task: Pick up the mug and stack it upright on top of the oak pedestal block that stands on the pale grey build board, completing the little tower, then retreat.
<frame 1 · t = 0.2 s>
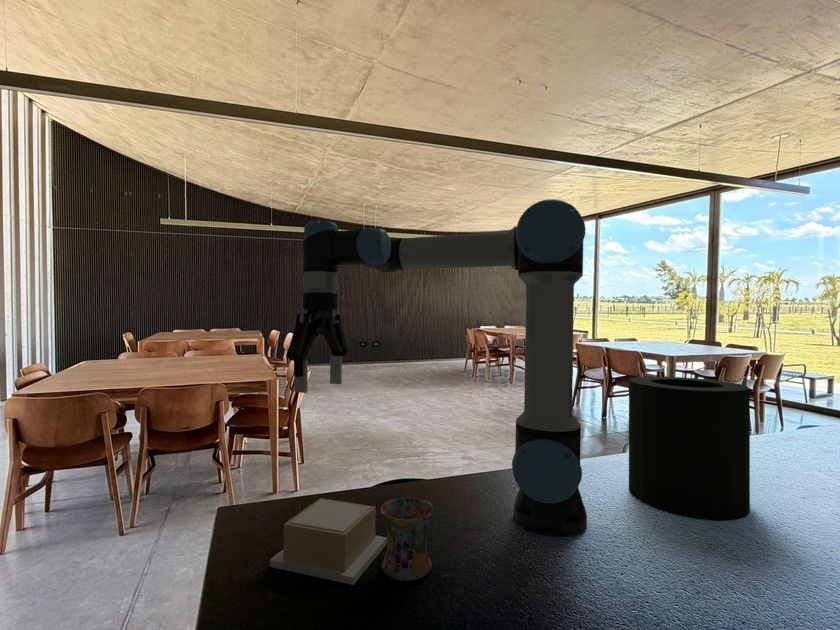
hand: (319, 387, 98), 28 cm above the table, fingers open, 13 cm apart
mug: (405, 567, 77), on the table
flower pot: (685, 498, 108), on the table
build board: (331, 554, 81), on the table
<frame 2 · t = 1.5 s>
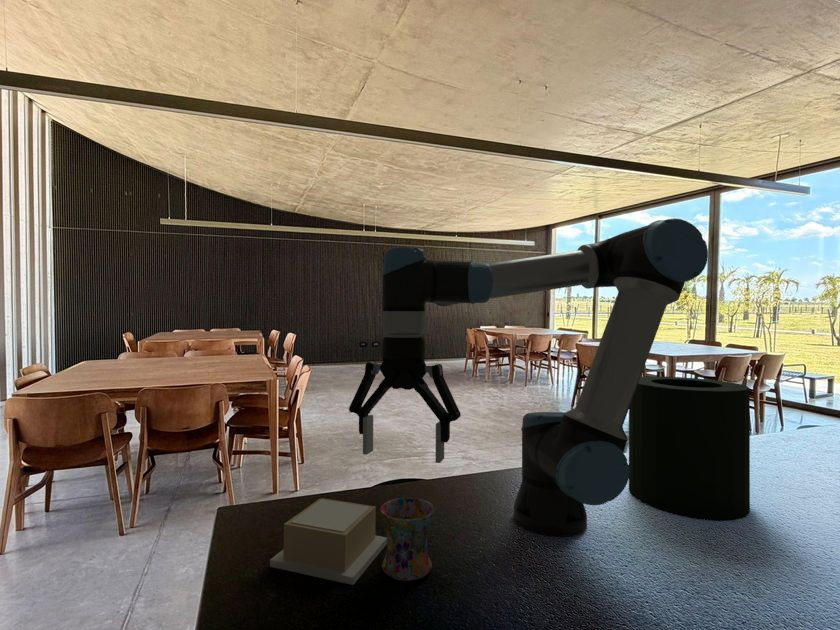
hand: (402, 456, 78), 19 cm above the table, fingers open, 13 cm apart
nothing on the table moved.
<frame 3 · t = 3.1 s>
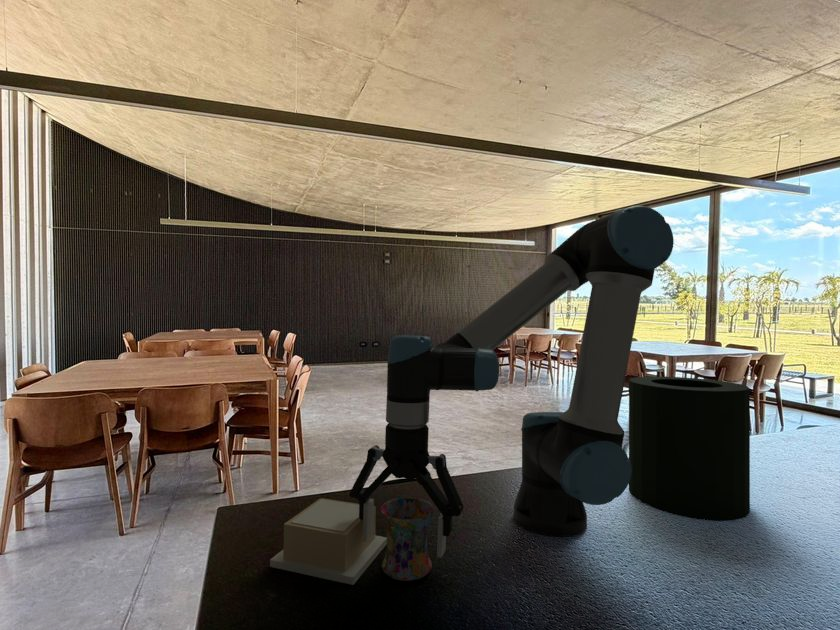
hand: (403, 546, 77), 3 cm above the table, fingers open, 13 cm apart
nothing on the table moved.
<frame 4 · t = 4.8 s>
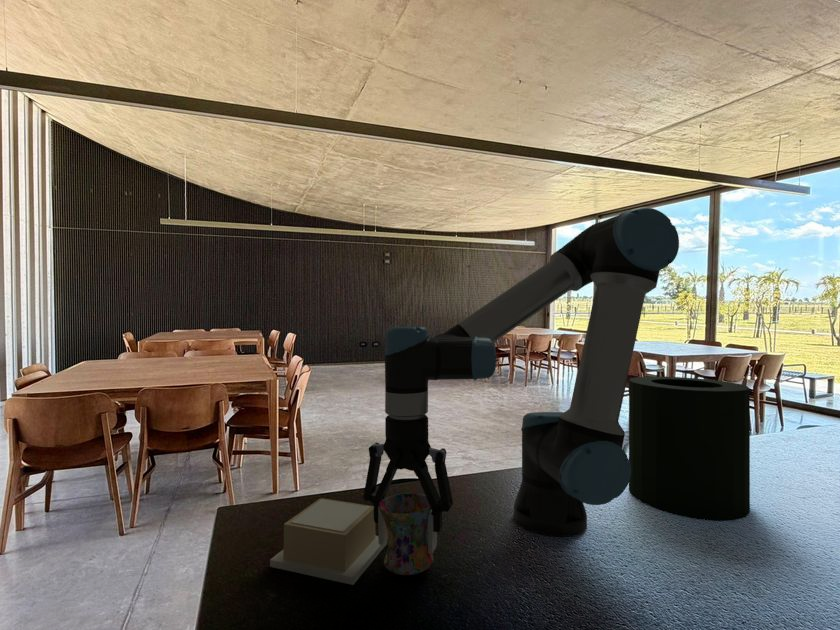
hand: (407, 544, 77), 4 cm above the table, fingers closed on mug, 8 cm apart
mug: (407, 562, 77), point 1 cm above the table, touching gripper
everything else where it was.
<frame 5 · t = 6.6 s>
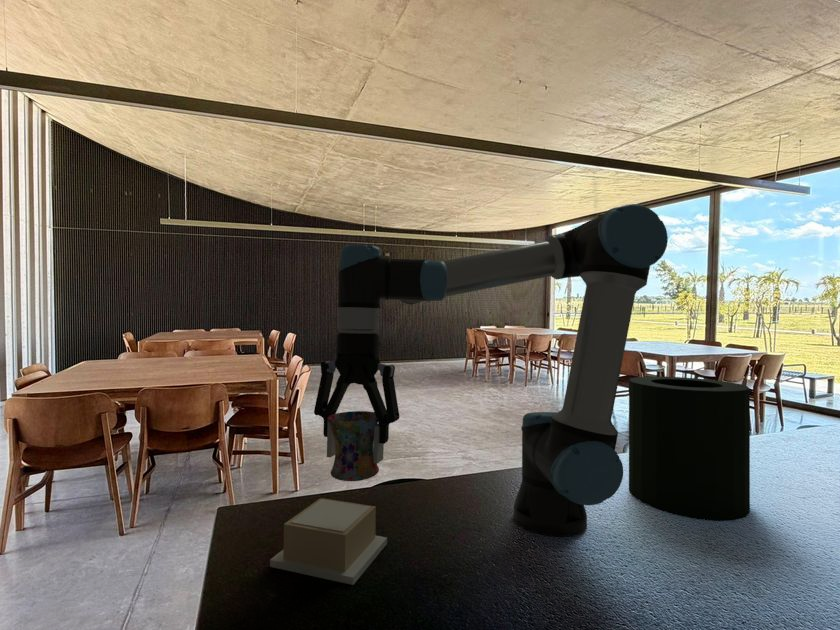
hand: (354, 457, 80), 18 cm above the table, fingers closed on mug, 8 cm apart
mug: (354, 475, 80), point 15 cm above the table, touching gripper
everything else where it was.
when the fingers open (9 cm above the table, at t = 8.9 s): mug stays where it is, resting on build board.
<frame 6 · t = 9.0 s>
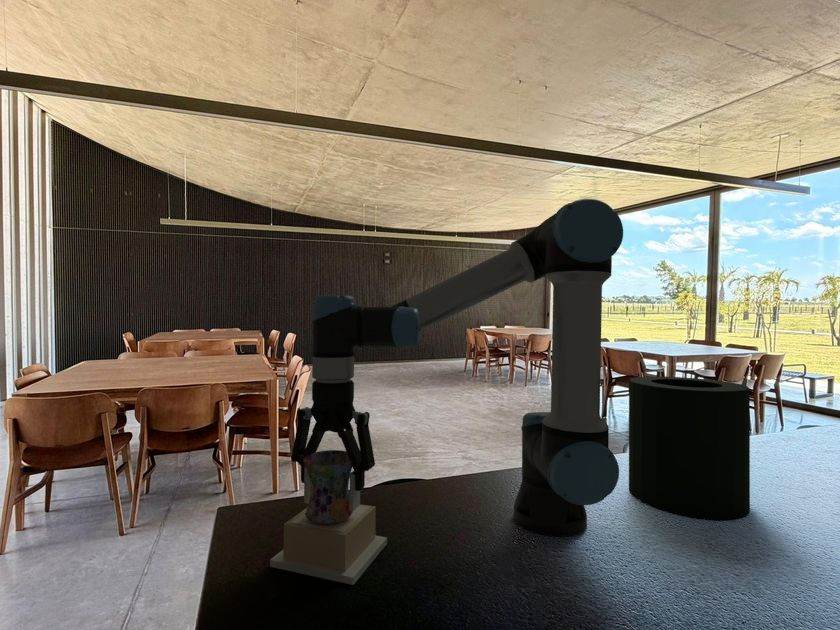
hand: (331, 504, 81), 9 cm above the table, fingers open, 9 cm apart
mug: (329, 514, 81), point 7 cm above the table, touching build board
everything else where it was.
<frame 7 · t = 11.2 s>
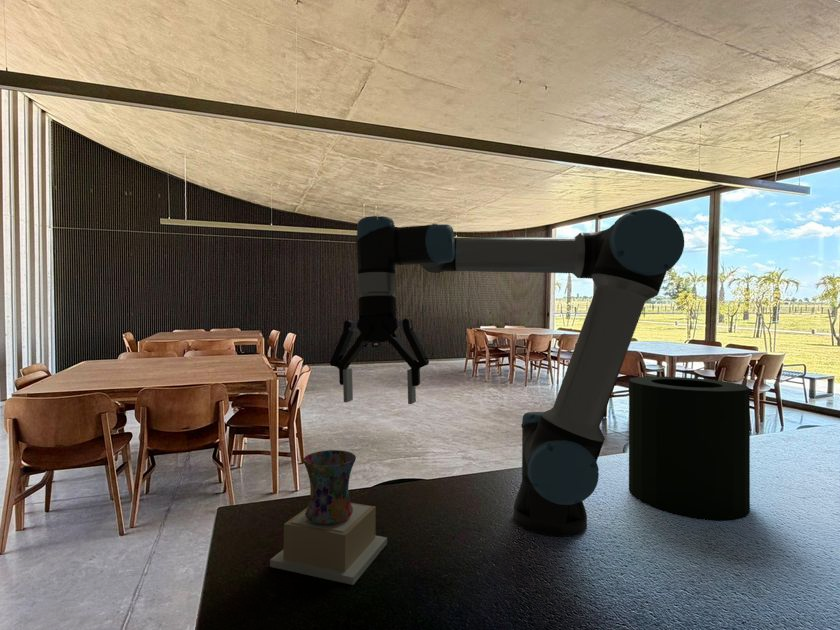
hand: (379, 402, 88), 26 cm above the table, fingers open, 13 cm apart
nothing on the table moved.
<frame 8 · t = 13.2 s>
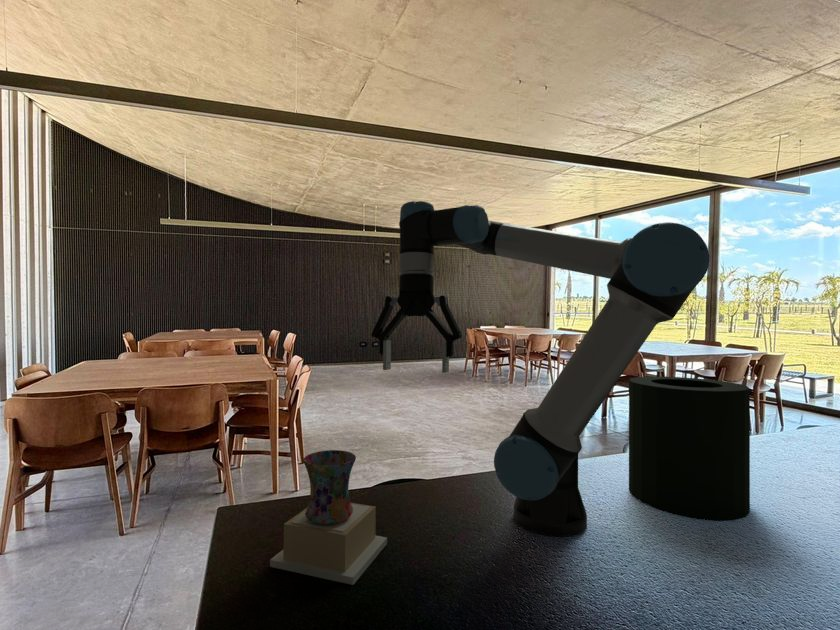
hand: (415, 371, 97), 32 cm above the table, fingers open, 13 cm apart
nothing on the table moved.
at the end: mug inside the target area on the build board (0.6 cm from its centre), point 7.2 cm above the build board's base; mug tilted 0°; the gripper is holding nothing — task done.
